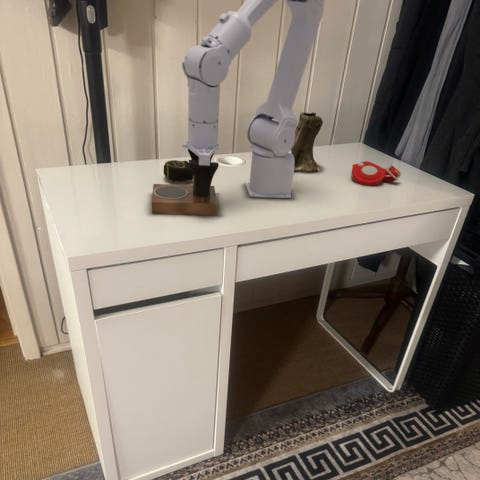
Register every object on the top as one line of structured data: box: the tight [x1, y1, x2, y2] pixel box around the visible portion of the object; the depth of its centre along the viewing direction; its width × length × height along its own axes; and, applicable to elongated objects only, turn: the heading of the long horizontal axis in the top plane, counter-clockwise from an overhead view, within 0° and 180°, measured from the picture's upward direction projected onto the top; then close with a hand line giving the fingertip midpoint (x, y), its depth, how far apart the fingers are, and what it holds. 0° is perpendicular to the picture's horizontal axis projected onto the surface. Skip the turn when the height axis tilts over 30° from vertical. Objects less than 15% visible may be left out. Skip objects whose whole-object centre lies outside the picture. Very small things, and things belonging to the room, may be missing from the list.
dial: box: [192, 176, 210, 196], centre depth 95 cm, size 4×4×4 cm
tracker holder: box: [351, 160, 403, 186], centre depth 119 cm, size 12×4×10 cm
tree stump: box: [290, 111, 324, 172], centre depth 120 cm, size 10×10×13 cm
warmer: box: [151, 183, 221, 216], centre depth 96 cm, size 14×10×3 cm
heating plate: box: [154, 186, 188, 199], centre depth 95 cm, size 7×7×1 cm
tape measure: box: [163, 159, 193, 183], centre depth 108 cm, size 7×7×4 cm
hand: (201, 189), depth 96 cm, fingers open, 7 cm apart
